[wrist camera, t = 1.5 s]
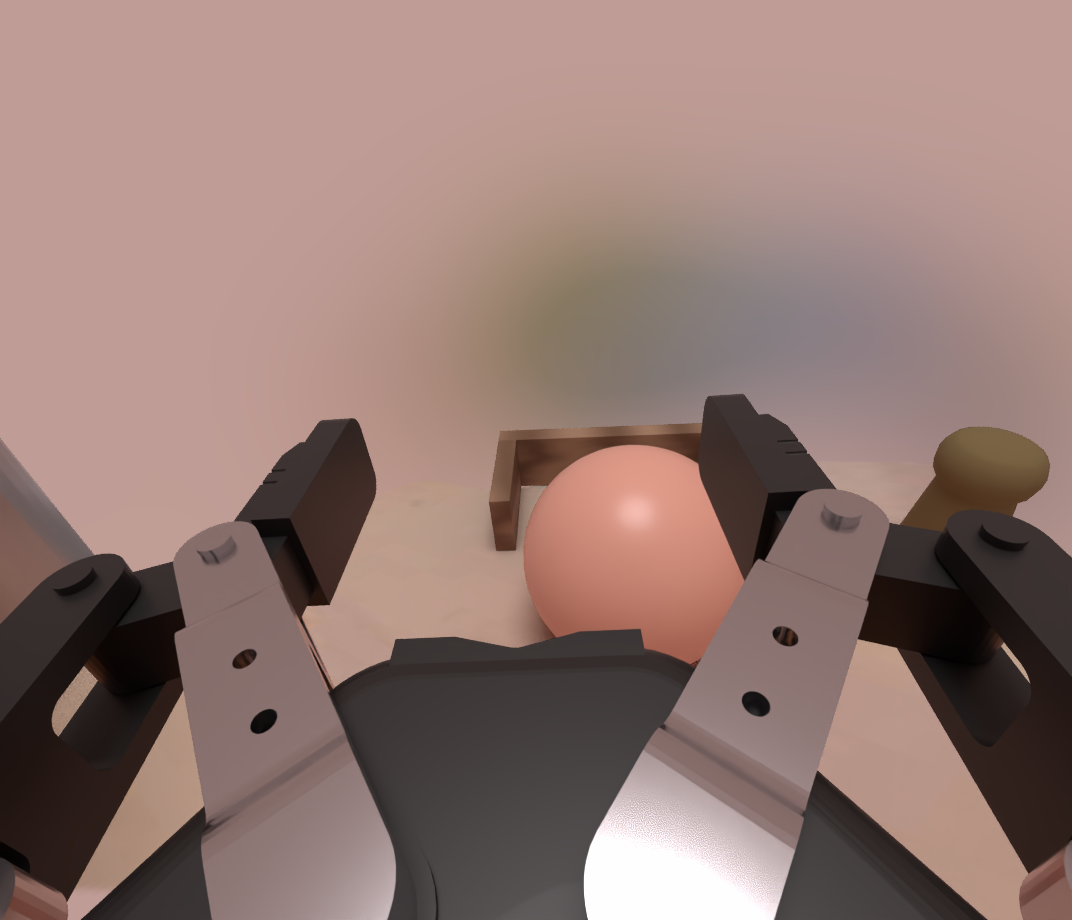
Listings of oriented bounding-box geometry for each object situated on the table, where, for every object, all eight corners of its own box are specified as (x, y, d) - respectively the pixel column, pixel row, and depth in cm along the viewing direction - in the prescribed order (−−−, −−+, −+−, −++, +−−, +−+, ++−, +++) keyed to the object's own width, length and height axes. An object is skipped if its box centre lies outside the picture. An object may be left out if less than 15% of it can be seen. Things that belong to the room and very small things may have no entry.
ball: (527, 722, 29) (503, 564, 22) (534, 554, 40) (520, 408, 32) (761, 721, 28) (823, 556, 21) (706, 550, 39) (733, 399, 31)
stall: (496, 550, 40) (488, 501, 37) (505, 476, 48) (500, 431, 45) (744, 544, 39) (756, 493, 36) (713, 469, 47) (721, 422, 44)
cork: (859, 556, 37) (914, 429, 31) (918, 530, 39) (982, 404, 33) (941, 619, 33) (1026, 484, 26) (1004, 586, 35) (1098, 452, 28)
